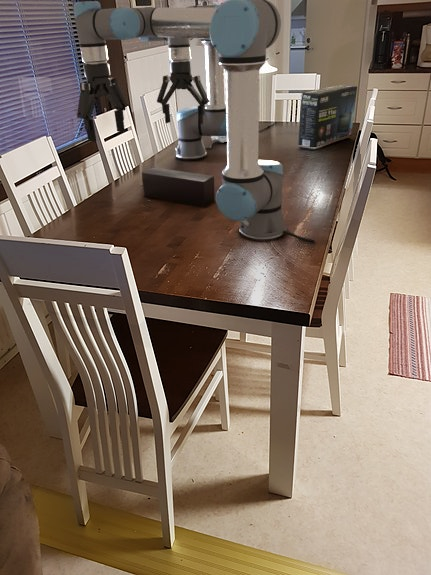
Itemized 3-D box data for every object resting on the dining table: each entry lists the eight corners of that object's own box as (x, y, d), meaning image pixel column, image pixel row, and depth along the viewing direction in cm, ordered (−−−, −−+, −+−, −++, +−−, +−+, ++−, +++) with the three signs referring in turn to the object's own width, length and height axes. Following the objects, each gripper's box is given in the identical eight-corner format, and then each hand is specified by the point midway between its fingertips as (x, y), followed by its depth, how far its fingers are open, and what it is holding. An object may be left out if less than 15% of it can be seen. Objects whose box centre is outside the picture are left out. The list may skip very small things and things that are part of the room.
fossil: (234, 138, 244) (215, 120, 247) (224, 155, 250) (206, 137, 254) (251, 137, 258) (232, 120, 261) (240, 153, 264) (223, 136, 267)
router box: (314, 151, 231) (318, 94, 217) (296, 148, 237) (299, 92, 224) (352, 138, 251) (358, 85, 238) (335, 135, 258) (340, 83, 245)
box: (214, 201, 176) (214, 175, 171) (204, 207, 170) (203, 181, 165) (155, 190, 188) (153, 167, 183) (144, 196, 183) (141, 172, 178)
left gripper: (143, 61, 163) (150, 123, 174) (209, 61, 155) (211, 126, 166) (153, 60, 169) (159, 120, 180) (216, 59, 161) (218, 122, 172)
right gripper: (113, 58, 147) (123, 127, 158) (54, 67, 129) (70, 144, 139) (132, 58, 143) (140, 128, 154) (74, 67, 125) (88, 146, 136)
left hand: (184, 123), depth 173 cm, fingers open, 13 cm apart
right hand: (107, 136), depth 147 cm, fingers open, 13 cm apart
